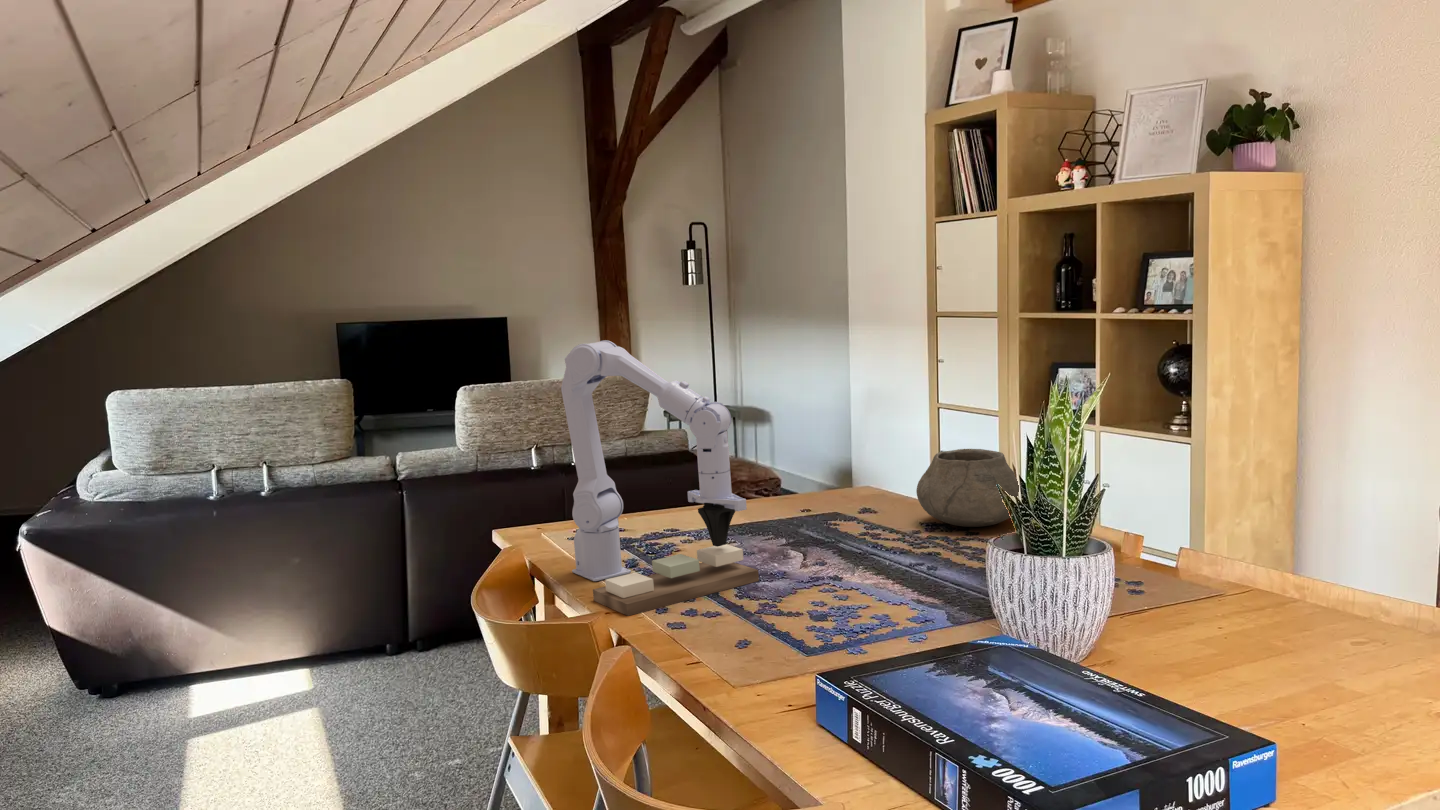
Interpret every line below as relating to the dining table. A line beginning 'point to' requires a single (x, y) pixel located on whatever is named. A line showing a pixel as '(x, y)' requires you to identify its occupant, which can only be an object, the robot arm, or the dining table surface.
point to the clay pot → (967, 487)
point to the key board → (680, 588)
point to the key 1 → (629, 585)
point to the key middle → (675, 565)
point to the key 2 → (720, 555)
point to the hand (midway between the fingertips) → (719, 545)
